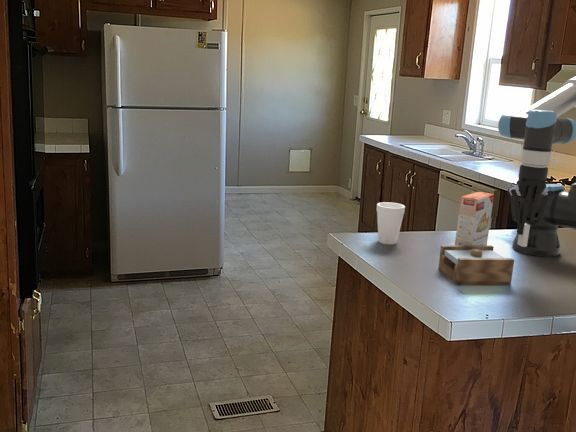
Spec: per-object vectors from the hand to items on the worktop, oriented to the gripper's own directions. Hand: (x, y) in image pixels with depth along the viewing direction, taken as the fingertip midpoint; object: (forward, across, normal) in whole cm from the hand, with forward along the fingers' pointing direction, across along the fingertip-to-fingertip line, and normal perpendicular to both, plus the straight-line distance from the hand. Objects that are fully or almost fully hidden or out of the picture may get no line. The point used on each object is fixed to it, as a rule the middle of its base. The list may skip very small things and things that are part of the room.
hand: (521, 245), depth 175 cm
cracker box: (+10, +6, -18) cm, 22 cm away
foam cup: (+10, +28, -36) cm, 47 cm away
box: (+10, +14, 0) cm, 17 cm away
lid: (+5, +14, 0) cm, 14 cm away
